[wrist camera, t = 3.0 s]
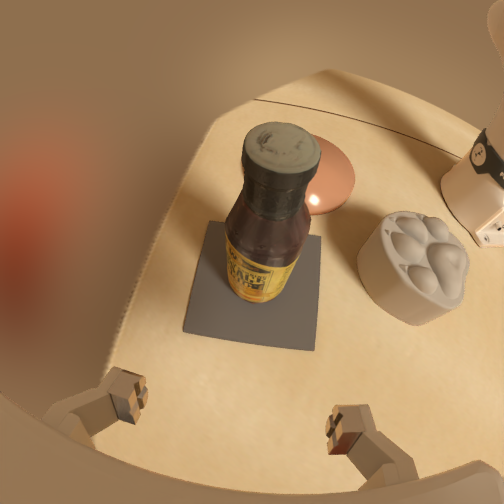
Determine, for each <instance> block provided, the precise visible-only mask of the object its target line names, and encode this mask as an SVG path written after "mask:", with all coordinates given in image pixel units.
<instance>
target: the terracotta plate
mask: <svg viewBox="0 0 504 504" xmlns="http://www.w3.org/2000/svg"><path fill="white" fill-rule="evenodd" d="M311 135H312V134H311ZM313 136H314V137H315V139H316V140H317V142H318V143H319V145H320V149H321V158H320V162H319V166H318V169H317V173H316V174H315V176H314V177H313V178H312V180H311V181H310V182H309V184H308V186H307V189H306V193H305V196H306V197H305V200H304V201H305V203H306V204H307V207H308V210H309V213H310V215H320V214H325V213H329V212H331V211H334V210H336V209H337V208H339V207H340V206H342V205H343V204H344V203H345V202H346V201H347V199H348V198H349V196H350V194H351V192H352V190H353V187H354V184H355V174H354V169H353V167H352V164H351V163H350V161H349V159H348V158H347V156H346V155H345V154H344V153H343V152H342V151H341V150H340V149H339V148H338V147H336V146H335V145H334V144H332V143H331V142H329V141H327V140H325V139H323V138H321V137H318V136H316V135H313Z"/></svg>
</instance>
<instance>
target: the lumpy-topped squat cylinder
mask: <svg viewBox="0 0 504 504" xmlns="http://www.w3.org/2000/svg"><path fill="white" fill-rule="evenodd" d="M469 264H470V263H469V257H468V254H467V252H466V250H465V248H464V246H463V245H462V243H461V242H460V241H459V240H458V239H457V238H456V237H455V236H454V235H453V234H452V233H450V232H449V229H448V227H447V225H446V224H445V223H444V222H443V221H442V220H441V219H439V218H436V217H427V216H425V215H423V214H419V213H414V212H408V211H399V212H394V213H391V214H389V215H387V216H386V217H384V218H383V219H382V221H381V222H380V223H379V225H378V226H377V227H376V229H375V230H374V232H373V233H372V234H371V235H370V237H369V238H368V240H367V241H366V242H365V244H364V245H363V246H362V248H361V249H360V250H359V252H358V255H357V269H358V273H359V277H360V279H361V282H362V284H363V285H364V287H365V289H366V291H367V292H368V294H369V296H370V297H371V299H372V300H373V301H374V302H375V303H376V304H377V305H378V306H379V307H380V308H382V309H383V310H385V311H386V312H387V313H389V314H390V315H392V316H394V317H395V318H397V319H399V320H401V321H403V322H405V323H407V324H409V325H412V326H421V325H424V324H426V323H428V322H430V321H432V320H434V319H436V318H438V317H440V316H443V315H445V314H446V313H448V312H450V311H452V310H454V309H456V308H457V307H459V306H460V305H461V303H462V301H463V298H464V289H465V280H466V276H467V273H468V270H469Z"/></svg>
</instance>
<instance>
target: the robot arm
mask: <svg viewBox="0 0 504 504" xmlns="http://www.w3.org/2000/svg"><path fill="white" fill-rule="evenodd" d="M487 23H488V30H489V33H490V36H491V39H492V41H493V43H494V45H495V46H496V48H497V50H498V53H499V55H500V58H501V61H502V64H503V69H504V0H498V1H497V2H495V3H494V4H493V5H492V6H491V8H490V9H489V12H488V17H487ZM441 191H442V194H443V197H444V199H445V201H446V203H447V205H448V207H449V209H450V210H451V212H452V213H453V215H454V216H455V217H456V218H457V220H458V221H459V222H460V223H461V224H462V225H463V226H464V227H465V228H466V229H467V230H468V231H469V232H470V233H471V235H472V236H473V238H474V240H475V241H476V243H477V244H478V245H479V246H480V247H482V248H483V247H504V93H503V97H502V100H501V103H500V105H499V107H498V109H497V111H496V113H495V115H494V117H493V119H492V121H491V122H490V124H489V126H488V128H485V129H483V130H482V132H481V133H480V134H479V136H478V138H477V139H476V141H475V142H474V145H473V147H472V148H471V149H470V150H469V151H468V153H467V154H466V155H465V156H464V157H463V158H462V159H461V160H460V161H459V162H458V163H457V164H454V165H453V167H452V168H451V170H450V171H449V172H447V173H446V174H445V175H443V177H442V179H441ZM145 384H146V378H145V377H144V376H142V375H139V374H136V373H133V372H130V371H127V370H124V369H121V368H118V367H115V366H114V367H113V368H111V370H110V371H109V372H108V374H107V375H106V376H105V378H104V379H103V380H102V382H101V383H100V385H99V386H98V387H97V389H96V388H92V389H89V390H87V391H85V392H82V393H79V394H77V395H74V396H71V397H69V398H66V399H63V400H61V401H58V402H55V403H54V404H53V405H52V406H51V407H50V409H49V410H48V411H47V413H46V414H45V415H44V417H43V418H42V419H41V420H40V419H38V418H37V417H35V416H34V415H32V414H31V413H29V412H27V411H26V410H25V409H23V408H22V407H20V406H19V405H17V404H16V403H15V402H13V401H12V400H11V399H10V398H8V397H7V396H6V395H4V394H3V393H2V392H1V391H0V504H504V482H503V479H502V477H501V474H500V473H499V471H498V470H496V469H495V468H493V467H492V466H490V465H489V464H487V463H485V462H483V461H481V460H475V461H472V462H469V463H467V464H464V465H462V466H459V467H456V468H453V469H451V470H448V471H445V472H442V473H439V474H435V475H432V476H429V477H425V478H421V479H419V477H418V474H417V470H416V467H415V464H414V461H413V458H412V457H410V456H409V455H408V454H407V453H405V452H404V451H403V450H402V449H400V448H399V447H398V446H397V445H396V444H394V443H393V442H392V441H391V440H390V439H388V438H387V437H386V436H385V435H384V434H382V433H381V432H380V431H377V430H376V427H375V423H374V420H373V417H372V414H371V410H370V407H369V405H368V404H367V405H335V406H334V407H333V409H332V413H333V414H332V415H330V416H329V417H328V419H327V422H326V436H327V437H328V438H329V441H328V442H327V447H328V455H346V454H347V455H346V456H347V457H348V458H349V459H350V460H351V462H352V463H353V464H354V465H355V466H356V468H357V469H358V470H359V471H360V472H361V474H362V475H363V476H364V477H365V478H366V480H367V481H366V482H365V483H364V484H363V485H362V486H361V487H360V488H359V489H358V491H352V492H341V493H327V494H274V493H260V492H249V491H241V490H233V489H226V488H220V487H214V486H209V485H203V484H199V483H194V482H189V481H185V480H181V479H177V478H173V477H170V476H166V475H163V474H159V473H156V472H153V471H149V470H146V469H143V468H140V467H137V466H135V465H132V464H129V463H126V462H124V461H121V460H119V459H116V458H114V457H111V456H109V455H107V454H104V453H102V452H100V451H97V450H95V449H96V448H95V445H94V444H93V442H92V440H91V439H90V437H92V436H93V435H95V434H97V433H98V432H100V431H102V430H103V429H105V428H107V427H108V426H110V425H112V424H113V423H115V422H117V421H118V419H119V420H122V421H125V422H128V423H131V424H134V425H136V423H137V421H138V419H139V417H140V415H141V413H140V410H141V409H143V408H144V407H145V405H146V403H147V399H148V389H147V388H146V387H145Z"/></svg>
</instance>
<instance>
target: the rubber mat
mask: <svg viewBox="0 0 504 504" xmlns="http://www.w3.org/2000/svg"><path fill="white" fill-rule="evenodd" d="M320 258H321V236H315V235H308V236H307V238H306V241H305V244H304V245H303V249H302V251H301V254H300V256H299V258H298V260H297V261H296V264H295V266H294V268H293V270H292V272H291V274H290V276H289V278H288V280H287V282H286V284H285V286H284V288H283V290H282V291H281V292H280V293H279V294H278V295H277V296H276V297H275V298H274V299H272V300H270V301H267V302H264V303H254V304H252V303H249V302H247V301H245V300H243V299H242V298H240V297H239V296H237V295H236V294H235V292H234V291H233V289H232V287H231V285H230V283H229V280H228V271H227V257H226V242H225V223H223V222H216V221H209V225H208V229H207V232H206V236H205V240H204V244H203V248H202V252H201V256H200V260H199V264H198V268H197V272H196V276H195V281H194V285H193V289H192V293H191V298H190V302H189V307H188V311H187V316H186V320H185V325H184V330H183V332H186V333H191V334H196V335H201V336H207V337H212V338H218V339H224V340H230V341H236V342H242V343H249V344H256V345H263V346H271V347H279V348H288V349H297V350H307V351H314V349H315V338H316V326H317V313H318V298H319V281H320Z"/></svg>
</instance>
